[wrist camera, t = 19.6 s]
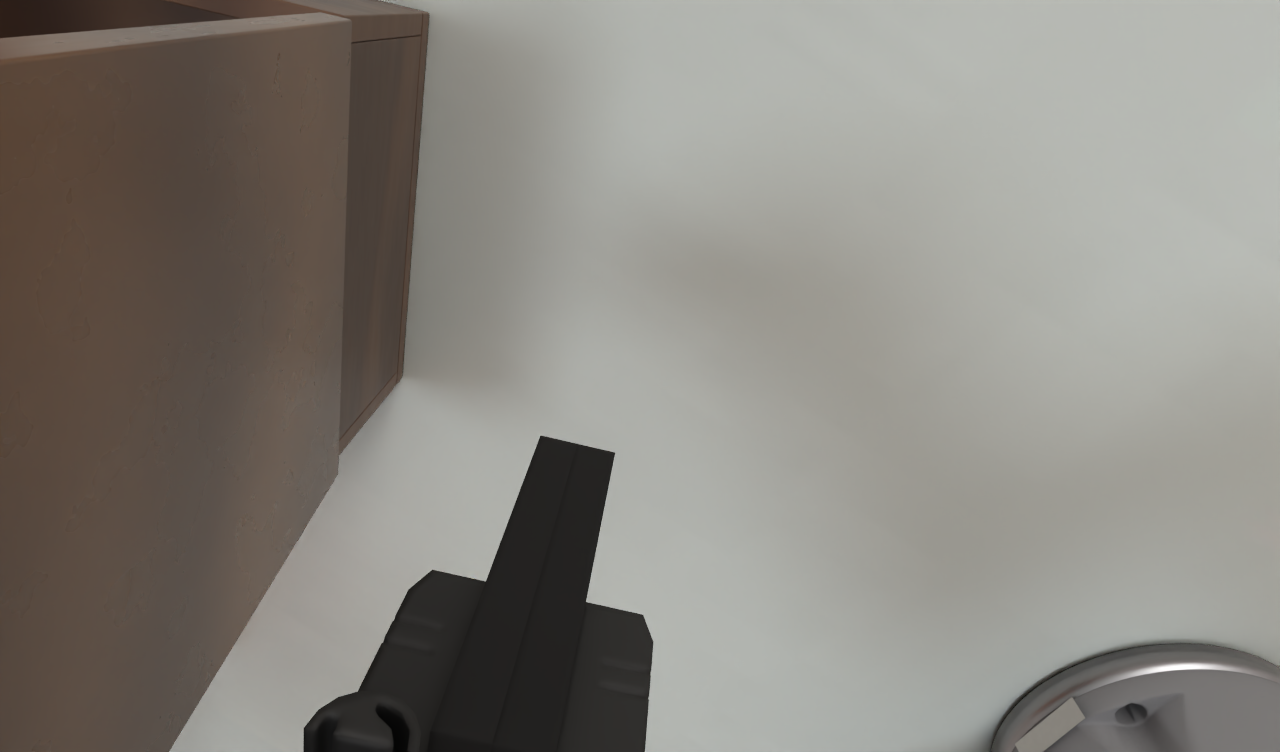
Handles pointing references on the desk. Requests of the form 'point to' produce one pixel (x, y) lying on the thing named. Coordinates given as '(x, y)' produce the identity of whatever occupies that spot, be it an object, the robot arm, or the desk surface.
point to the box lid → (160, 356)
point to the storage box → (376, 158)
